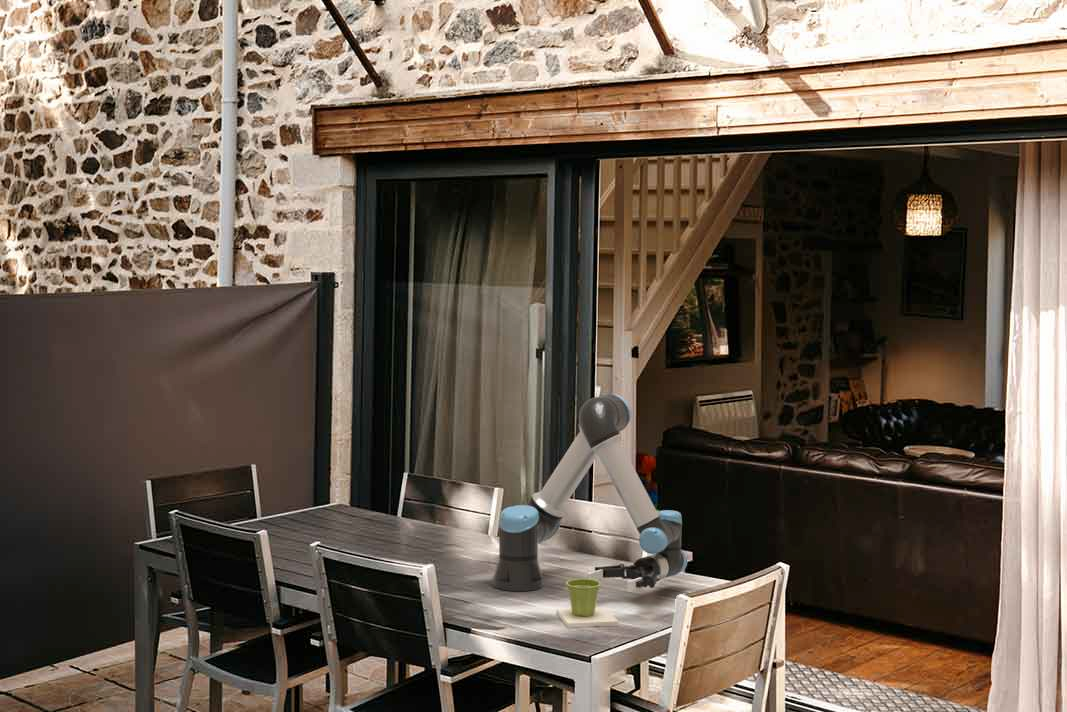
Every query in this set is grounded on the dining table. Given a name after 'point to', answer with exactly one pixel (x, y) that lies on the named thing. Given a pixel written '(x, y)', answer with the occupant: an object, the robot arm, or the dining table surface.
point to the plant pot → (583, 596)
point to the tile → (587, 618)
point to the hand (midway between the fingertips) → (607, 582)
